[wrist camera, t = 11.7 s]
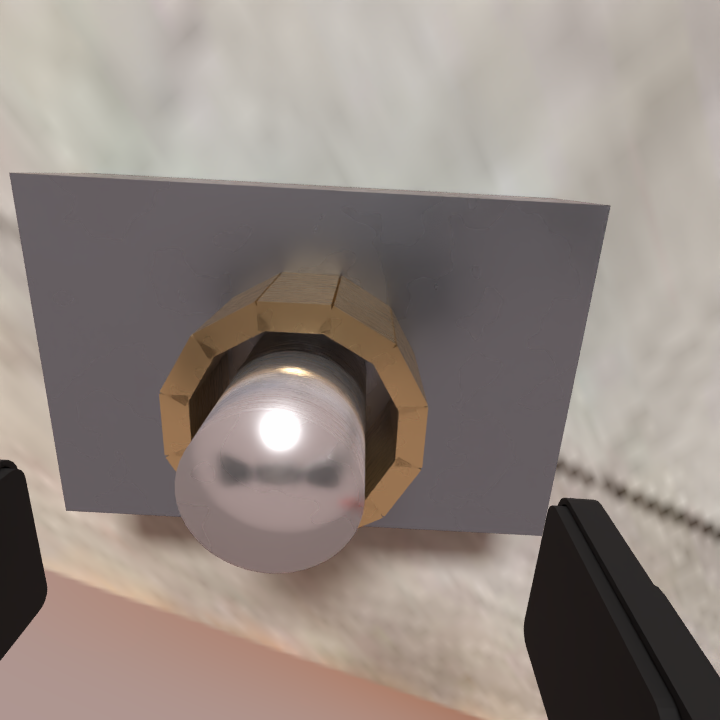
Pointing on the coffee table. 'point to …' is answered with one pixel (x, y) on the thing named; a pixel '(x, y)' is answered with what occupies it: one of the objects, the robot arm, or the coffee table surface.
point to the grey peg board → (305, 352)
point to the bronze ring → (315, 316)
